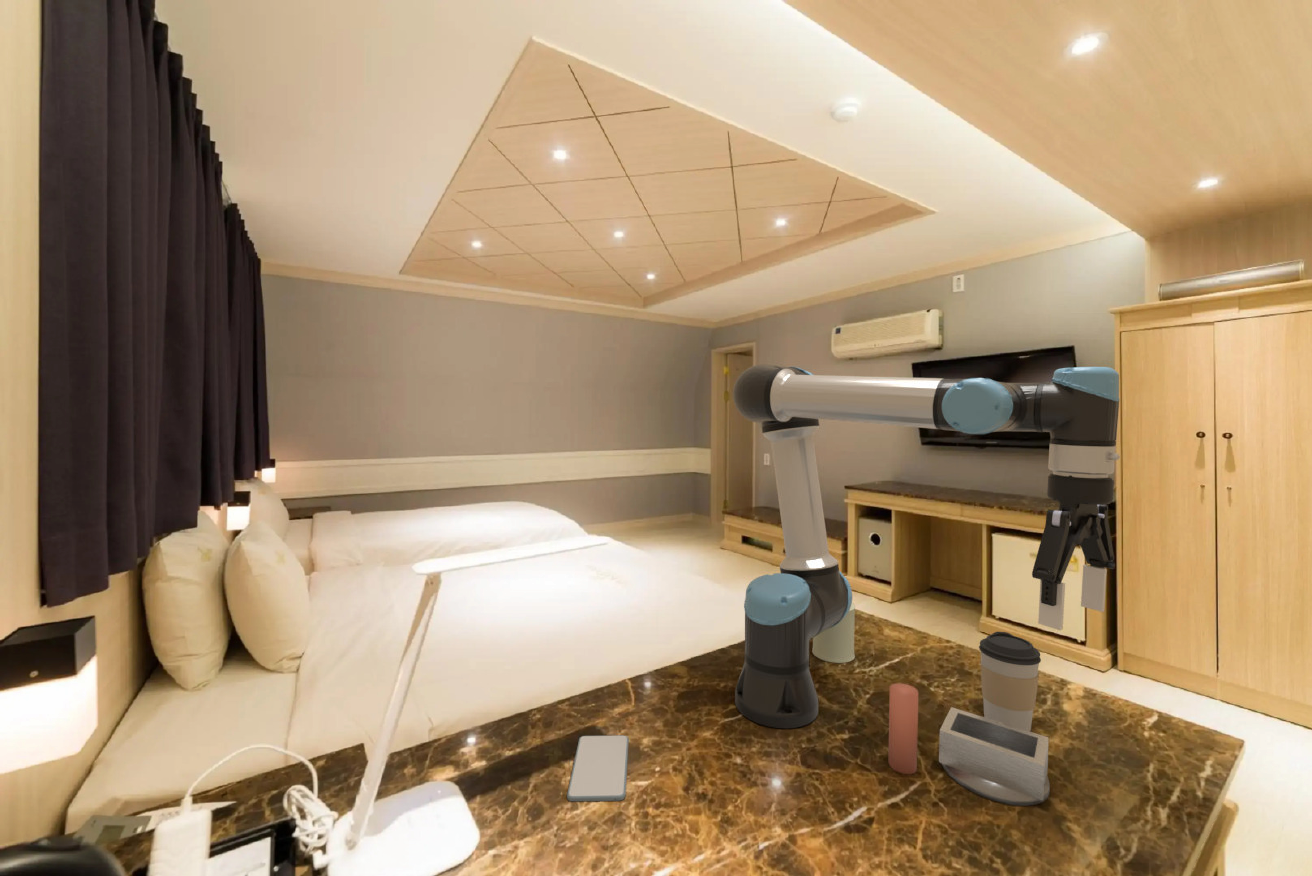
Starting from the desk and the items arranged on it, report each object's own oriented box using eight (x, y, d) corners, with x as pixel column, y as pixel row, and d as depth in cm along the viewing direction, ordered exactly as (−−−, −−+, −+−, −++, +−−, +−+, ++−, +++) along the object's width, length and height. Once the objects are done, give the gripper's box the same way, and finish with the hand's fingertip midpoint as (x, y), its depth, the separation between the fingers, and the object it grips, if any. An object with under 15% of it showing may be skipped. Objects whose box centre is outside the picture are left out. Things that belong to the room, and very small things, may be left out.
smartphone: (628, 734, 90) (625, 796, 75) (628, 740, 90) (625, 803, 75) (579, 735, 90) (565, 797, 75) (579, 740, 90) (565, 804, 75)
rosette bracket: (930, 776, 80) (931, 737, 80) (950, 733, 91) (951, 699, 91) (1045, 821, 71) (1047, 778, 71) (1052, 768, 82) (1053, 730, 82)
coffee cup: (1049, 741, 89) (1052, 652, 88) (989, 734, 91) (991, 648, 90) (1023, 711, 98) (1026, 630, 97) (969, 706, 100) (971, 627, 99)
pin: (885, 766, 82) (886, 690, 82) (892, 753, 86) (894, 680, 85) (912, 777, 80) (914, 699, 79) (919, 764, 83) (921, 688, 82)
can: (813, 660, 118) (814, 607, 117) (810, 643, 127) (811, 593, 126) (857, 665, 116) (858, 610, 115) (851, 647, 125) (852, 596, 124)
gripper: (1071, 482, 68) (1062, 645, 69) (1146, 472, 81) (1138, 609, 82) (1008, 476, 74) (1000, 625, 76) (1087, 467, 87) (1079, 594, 88)
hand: (1072, 617), depth 79 cm, fingers open, 13 cm apart
